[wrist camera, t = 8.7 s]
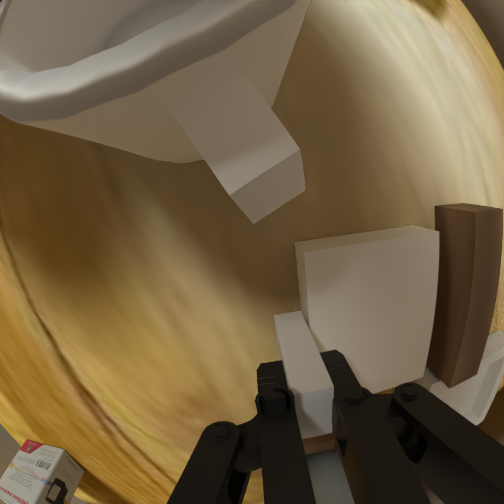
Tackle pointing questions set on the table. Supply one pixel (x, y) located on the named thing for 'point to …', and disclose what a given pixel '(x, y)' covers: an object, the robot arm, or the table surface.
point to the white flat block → (372, 300)
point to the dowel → (328, 478)
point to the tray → (472, 383)
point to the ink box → (40, 476)
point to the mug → (162, 83)
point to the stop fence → (464, 288)
